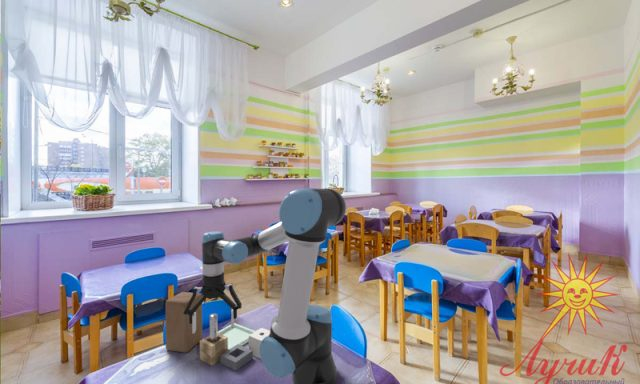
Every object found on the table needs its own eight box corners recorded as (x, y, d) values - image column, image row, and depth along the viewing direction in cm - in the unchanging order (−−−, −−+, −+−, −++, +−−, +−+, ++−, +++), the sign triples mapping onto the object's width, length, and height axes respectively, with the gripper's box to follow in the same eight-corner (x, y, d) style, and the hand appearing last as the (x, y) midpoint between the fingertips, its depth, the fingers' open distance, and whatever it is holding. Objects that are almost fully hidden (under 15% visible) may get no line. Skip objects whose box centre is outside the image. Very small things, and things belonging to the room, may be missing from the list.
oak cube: (227, 355, 102) (227, 337, 102) (212, 365, 96) (211, 346, 96) (215, 349, 106) (215, 332, 106) (199, 359, 100) (199, 340, 100)
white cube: (274, 349, 106) (274, 332, 106) (262, 359, 100) (262, 340, 100) (261, 344, 110) (261, 327, 109) (248, 353, 104) (248, 335, 103)
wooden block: (187, 354, 103) (186, 302, 103) (164, 350, 105) (164, 300, 105) (203, 339, 113) (203, 292, 113) (182, 337, 115) (182, 290, 115)
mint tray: (257, 335, 116) (257, 331, 116) (229, 353, 103) (229, 349, 103) (233, 326, 124) (233, 322, 124) (205, 342, 111) (205, 338, 111)
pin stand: (252, 358, 100) (252, 350, 100) (235, 370, 94) (235, 362, 94) (237, 351, 105) (237, 344, 105) (220, 363, 98) (220, 355, 98)
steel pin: (219, 356, 102) (219, 314, 101) (213, 360, 99) (212, 317, 99) (214, 354, 103) (214, 312, 103) (208, 358, 101) (207, 316, 100)
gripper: (247, 267, 107) (248, 320, 108) (179, 272, 101) (180, 328, 102) (247, 273, 100) (247, 329, 100) (174, 279, 94) (174, 339, 94)
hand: (213, 329), depth 101 cm, fingers open, 13 cm apart
